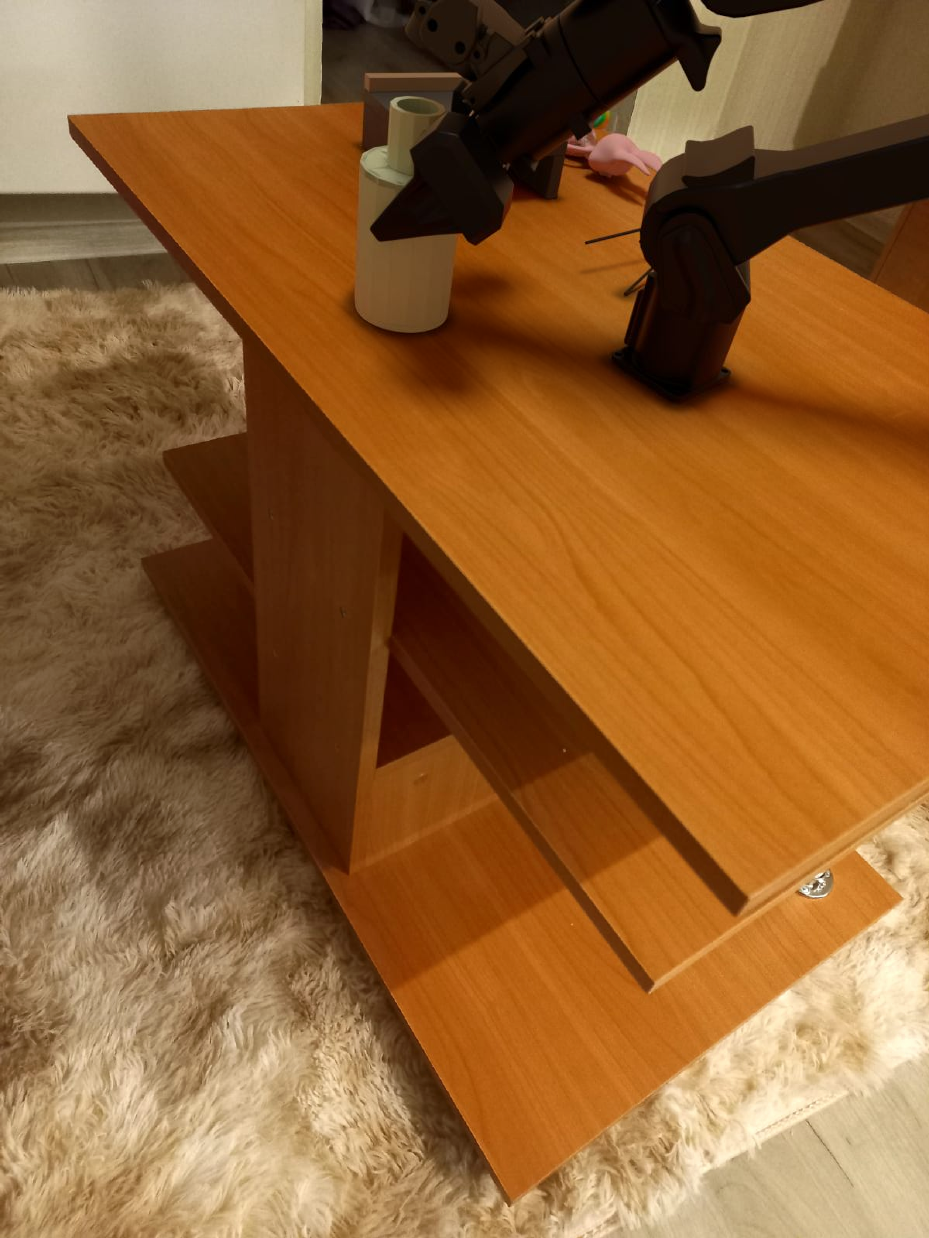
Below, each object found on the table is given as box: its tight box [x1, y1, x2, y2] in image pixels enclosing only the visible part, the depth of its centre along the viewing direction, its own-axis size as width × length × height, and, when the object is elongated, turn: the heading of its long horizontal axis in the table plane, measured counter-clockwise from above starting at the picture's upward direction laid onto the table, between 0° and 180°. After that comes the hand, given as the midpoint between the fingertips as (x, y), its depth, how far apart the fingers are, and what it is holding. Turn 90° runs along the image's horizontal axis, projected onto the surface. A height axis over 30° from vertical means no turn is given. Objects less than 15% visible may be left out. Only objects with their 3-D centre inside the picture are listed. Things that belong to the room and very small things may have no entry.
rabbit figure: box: [565, 110, 663, 179], centre depth 85 cm, size 6×6×15 cm
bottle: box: [353, 96, 459, 334], centre depth 59 cm, size 7×7×14 cm
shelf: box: [361, 72, 568, 200], centre depth 80 cm, size 14×14×6 cm
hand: (389, 213), depth 59 cm, fingers closed on bottle, 7 cm apart
